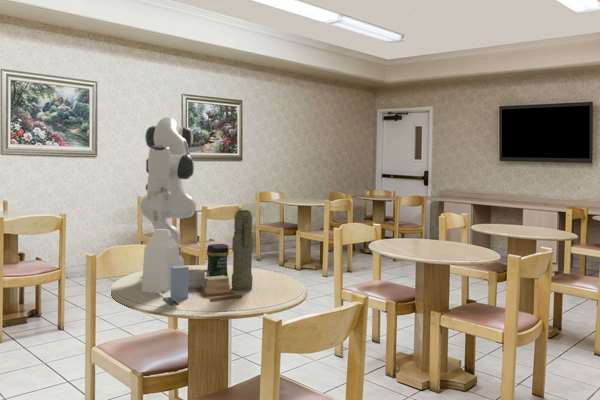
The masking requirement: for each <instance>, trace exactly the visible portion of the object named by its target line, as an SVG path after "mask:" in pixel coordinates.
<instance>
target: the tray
mask: <svg viewBox="0 0 600 400" xmlns="http://www.w3.org/2000/svg"><path fill="white" fill-rule="evenodd" d="M195 292H196V293H197V294H199V295H201V296H202V297H204V298H206V299H207V300H209V301H210V302H217V301H227V300H235V299H243V295H242V294H237V293H234V292H232V291H231V290H230V292H223V293H214V294H206V293H204V292H203V287H201V288H196V289H195Z"/></svg>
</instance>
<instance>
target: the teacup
mask: <svg viewBox="0 0 600 400" xmlns="http://www.w3.org/2000/svg"><path fill="white" fill-rule="evenodd" d="M204 277H209V271H208V270H207V269H200V268H199V269H189V277H188V290H189V289H193V290H194V289H198V288H203V284H204Z"/></svg>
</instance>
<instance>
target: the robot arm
mask: <svg viewBox="0 0 600 400" xmlns="http://www.w3.org/2000/svg"><path fill="white" fill-rule="evenodd" d="M144 140H145V142H146V143H145V144H146V146H147V147H148V148H149V151H148V158H147V159H146V161H145V171H146V173H148V176H147V183H146V185H145V191H146V196H144V197H143V198H142V199H141V200H140V203H139V210H140V212H141V214H142V216H144V217H145V218H146V219H147V220H149V222H150V223H151V224H152V227H153V229H154V230H155V229H164V230H169V231H170V234H171V237H172V238H173V239H174V240H175V241H176V243H177V244H178V246H179V262H180V266H185V265H184V264H185V263H184V258H183V257H182V256H181V253H182V250H181V244H180V243H181V233H180V230H179V229H178V228H177V227H176V226H174V225H172V224H170V223H169V222H168V221H167V220H168V219H186V218H191V217H193V216H194V214H195V213H196V210H197V203H196V201H195V199H194V198H193V197H192V196H190V195H189V194H188V193H187V191H186V190H185V188H184V186H183V182H182V180H189V178H190V177H192V176H193V175H194V171H195V162H194V160H193V157H192V155H191V152H190V148H191V147H192V145H193V142H194V135H193V132H192V129H191V128H189V127H186V126H183V127H182V126H179V124H178V122H177V121H176V120H175V119H174V118H172V117H163V118H161V119H160V120H159V121H158V122H157V124H156V125H153V126H150V127H148V128H147V129H146V131H145V135H144Z"/></svg>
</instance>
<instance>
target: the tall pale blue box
mask: <svg viewBox="0 0 600 400" xmlns="http://www.w3.org/2000/svg"><path fill="white" fill-rule="evenodd" d="M189 270H190V269H189V266H187V265H184V266H174V267H171V290H170V298H171V300H172V301H176V300H186V299H189V289H188V277H189Z"/></svg>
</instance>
